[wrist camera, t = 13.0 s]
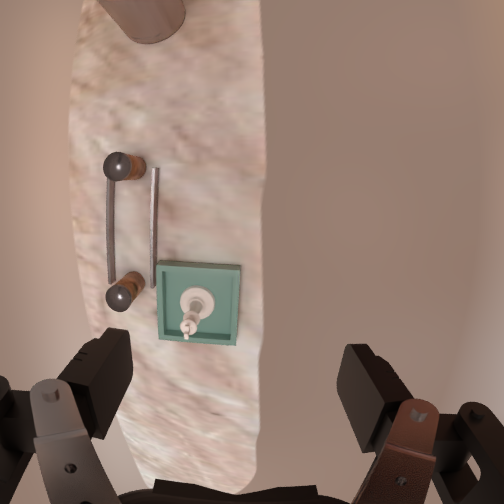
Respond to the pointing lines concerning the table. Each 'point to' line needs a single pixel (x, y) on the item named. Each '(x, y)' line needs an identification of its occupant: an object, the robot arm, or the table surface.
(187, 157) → the table surface
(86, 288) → the table surface
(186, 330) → the chess piece
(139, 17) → the robot arm
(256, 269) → the table surface
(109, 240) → the rail
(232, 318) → the tray
